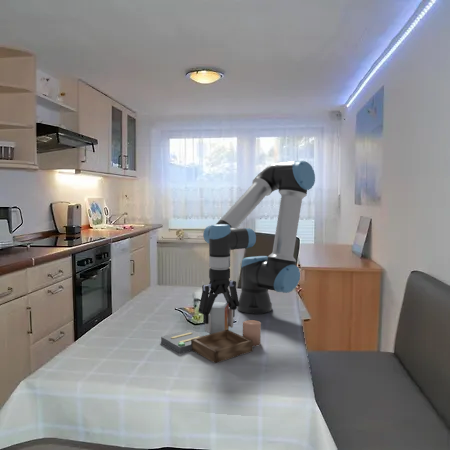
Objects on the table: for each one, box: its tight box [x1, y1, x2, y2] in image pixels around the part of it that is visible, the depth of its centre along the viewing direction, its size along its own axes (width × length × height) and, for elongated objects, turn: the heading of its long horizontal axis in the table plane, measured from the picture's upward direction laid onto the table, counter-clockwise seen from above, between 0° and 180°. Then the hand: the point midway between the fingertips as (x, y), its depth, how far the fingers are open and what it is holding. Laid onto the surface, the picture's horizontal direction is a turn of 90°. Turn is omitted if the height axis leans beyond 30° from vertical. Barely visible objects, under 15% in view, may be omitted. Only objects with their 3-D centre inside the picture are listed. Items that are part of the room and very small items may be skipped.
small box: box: [209, 301, 230, 334], centre depth 146 cm, size 8×6×10 cm
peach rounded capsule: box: [242, 319, 262, 347], centre depth 138 cm, size 6×6×7 cm
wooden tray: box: [191, 330, 254, 364], centre depth 131 cm, size 15×13×4 cm
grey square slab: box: [160, 329, 204, 354], centre depth 137 cm, size 12×12×3 cm
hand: (219, 329), depth 147 cm, fingers closed on small box, 9 cm apart
